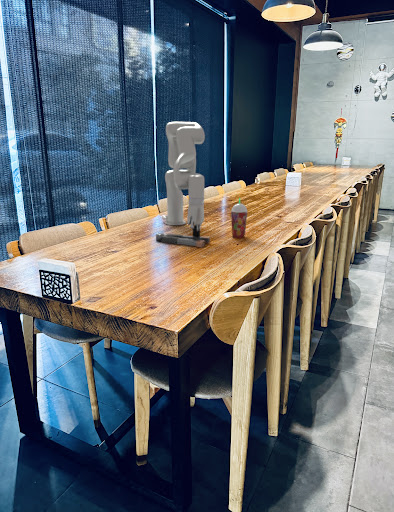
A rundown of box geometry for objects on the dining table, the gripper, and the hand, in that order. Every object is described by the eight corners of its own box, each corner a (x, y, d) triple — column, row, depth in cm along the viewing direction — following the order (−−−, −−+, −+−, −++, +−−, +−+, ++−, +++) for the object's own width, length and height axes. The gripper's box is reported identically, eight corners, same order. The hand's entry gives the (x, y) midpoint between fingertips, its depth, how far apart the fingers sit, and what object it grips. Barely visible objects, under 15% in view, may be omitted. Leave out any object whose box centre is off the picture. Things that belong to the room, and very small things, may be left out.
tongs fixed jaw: (161, 242, 182) (161, 236, 181) (165, 241, 185) (165, 235, 184) (202, 247, 173) (202, 241, 172) (204, 246, 176) (204, 240, 175)
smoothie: (248, 235, 196) (250, 197, 191) (243, 239, 189) (245, 199, 184) (233, 234, 200) (234, 196, 194) (228, 237, 193) (228, 198, 187)
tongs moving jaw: (154, 241, 185) (154, 235, 184) (158, 238, 190) (158, 232, 189) (207, 244, 178) (207, 238, 177) (209, 242, 183) (209, 236, 182)
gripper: (195, 198, 189) (195, 234, 194) (182, 202, 176) (182, 240, 181) (209, 199, 186) (209, 236, 191) (196, 203, 173) (196, 242, 178)
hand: (196, 238), depth 186 cm, fingers closed
